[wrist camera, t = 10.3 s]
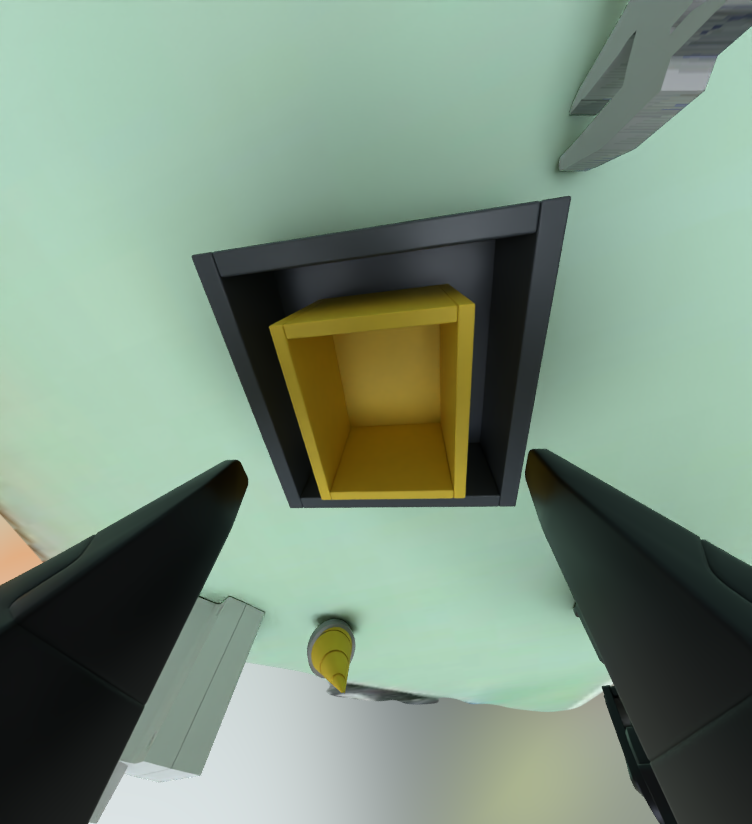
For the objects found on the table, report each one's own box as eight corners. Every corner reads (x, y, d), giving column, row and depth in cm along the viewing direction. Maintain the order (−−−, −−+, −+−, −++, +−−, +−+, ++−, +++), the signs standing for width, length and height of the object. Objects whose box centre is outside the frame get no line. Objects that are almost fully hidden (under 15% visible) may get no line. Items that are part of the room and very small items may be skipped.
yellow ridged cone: (303, 615, 34) (311, 672, 25) (345, 601, 36) (367, 650, 26) (307, 663, 33) (317, 740, 24) (350, 646, 35) (375, 713, 26)
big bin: (512, 215, 12) (572, 195, 8) (489, 445, 18) (515, 507, 14) (258, 254, 14) (189, 255, 9) (315, 452, 20) (290, 508, 16)
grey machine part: (226, 639, 39) (136, 832, 26) (127, 598, 35) (-35, 797, 22) (265, 612, 33) (176, 838, 21) (152, 560, 30) (-42, 793, 17)
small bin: (448, 283, 13) (476, 303, 8) (447, 424, 17) (465, 498, 12) (318, 299, 14) (267, 326, 9) (346, 429, 18) (321, 500, 13)
